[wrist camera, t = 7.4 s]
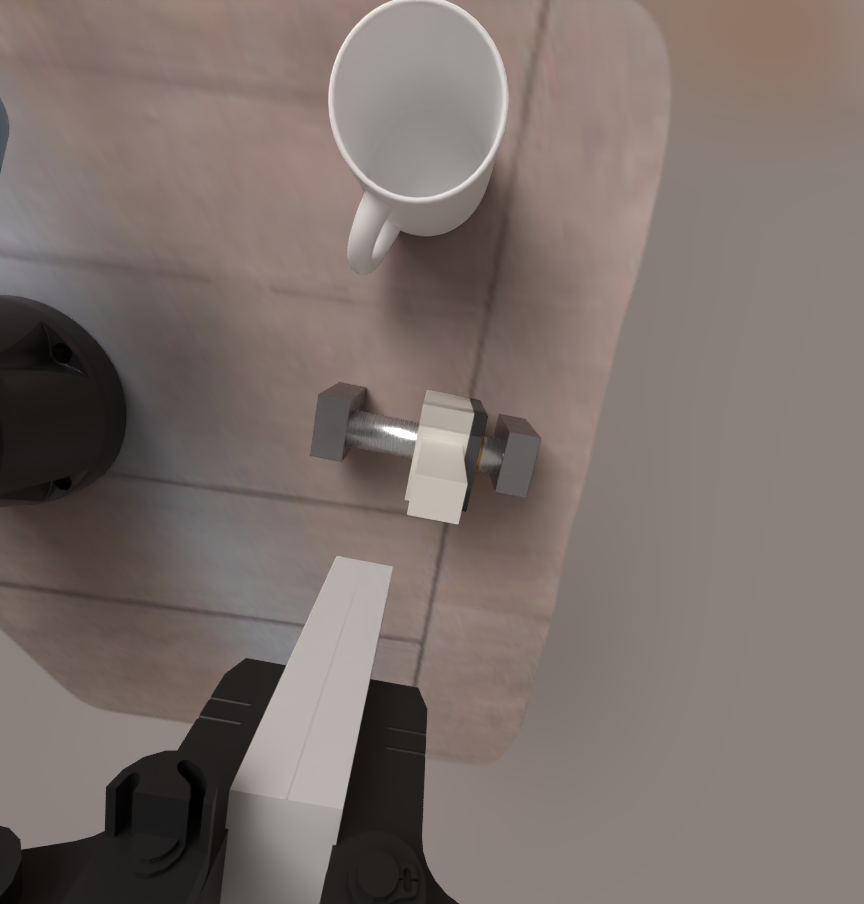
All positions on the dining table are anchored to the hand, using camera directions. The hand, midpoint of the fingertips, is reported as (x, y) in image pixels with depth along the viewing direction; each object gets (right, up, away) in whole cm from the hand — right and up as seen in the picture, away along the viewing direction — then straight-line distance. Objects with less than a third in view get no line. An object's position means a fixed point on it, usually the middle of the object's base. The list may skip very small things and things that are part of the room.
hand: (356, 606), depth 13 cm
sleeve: (+3, +5, +22) cm, 23 cm away
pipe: (+2, +6, +24) cm, 24 cm away
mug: (+1, +21, +20) cm, 29 cm away
